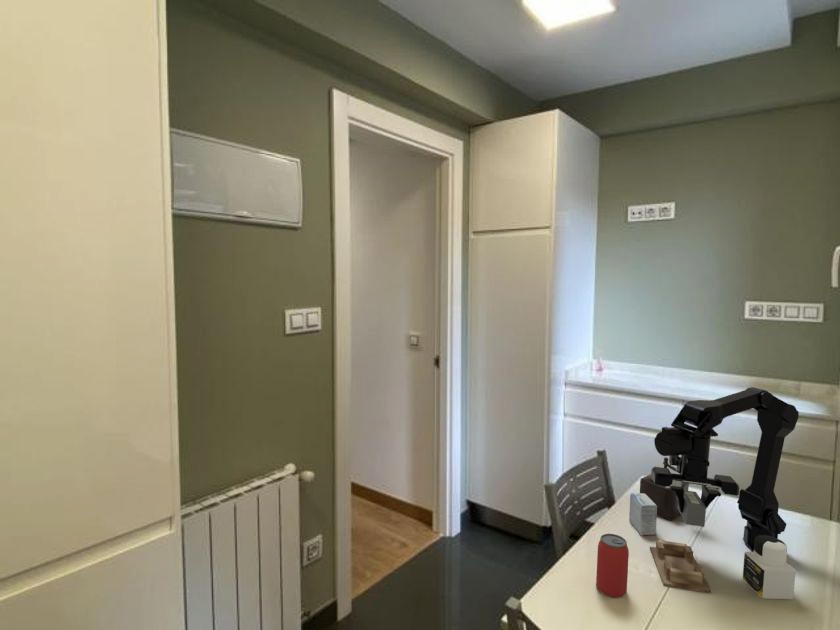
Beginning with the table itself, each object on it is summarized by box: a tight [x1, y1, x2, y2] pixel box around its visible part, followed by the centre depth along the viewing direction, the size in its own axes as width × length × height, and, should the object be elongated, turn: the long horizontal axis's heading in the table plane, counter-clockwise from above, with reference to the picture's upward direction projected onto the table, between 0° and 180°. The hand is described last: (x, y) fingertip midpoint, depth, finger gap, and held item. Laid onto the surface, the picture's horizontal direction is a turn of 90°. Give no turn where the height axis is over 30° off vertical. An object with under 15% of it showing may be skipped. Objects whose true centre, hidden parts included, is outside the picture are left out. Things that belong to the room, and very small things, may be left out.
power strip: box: [678, 490, 707, 528], centre depth 125 cm, size 4×9×5 cm, turn 165°
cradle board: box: [649, 539, 712, 594], centre depth 121 cm, size 10×16×3 cm, turn 166°
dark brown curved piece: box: [639, 456, 690, 521], centre depth 149 cm, size 16×11×18 cm
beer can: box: [595, 533, 630, 599], centre depth 113 cm, size 7×7×12 cm
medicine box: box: [628, 492, 658, 536], centre depth 141 cm, size 8×4×9 cm, turn 179°
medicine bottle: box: [742, 535, 797, 600], centre depth 114 cm, size 7×7×12 cm
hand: (690, 513), depth 125 cm, fingers closed on power strip, 4 cm apart
